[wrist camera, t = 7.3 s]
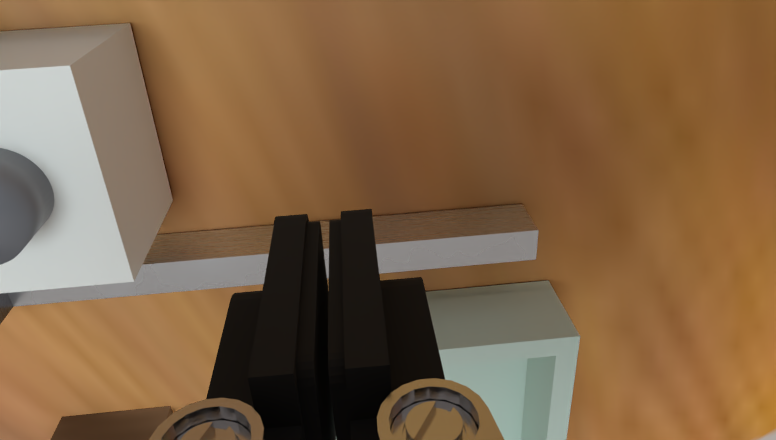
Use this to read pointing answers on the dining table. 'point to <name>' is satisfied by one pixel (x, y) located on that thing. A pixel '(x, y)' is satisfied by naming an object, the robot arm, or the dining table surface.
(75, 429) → the stop block
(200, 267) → the piston rail
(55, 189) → the block
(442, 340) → the tray
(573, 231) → the dining table surface
